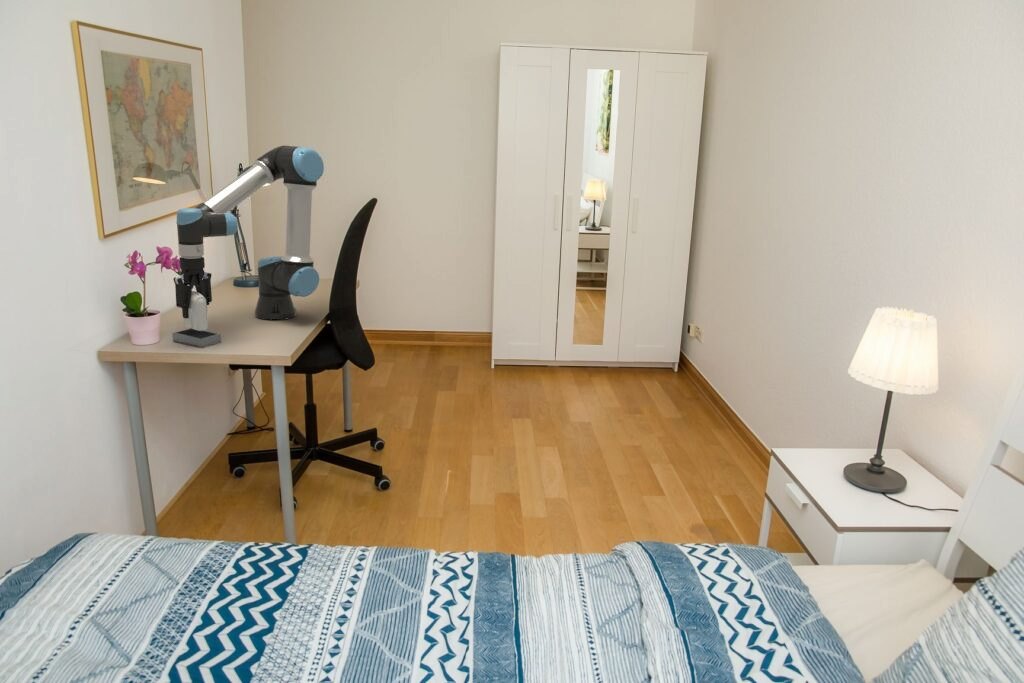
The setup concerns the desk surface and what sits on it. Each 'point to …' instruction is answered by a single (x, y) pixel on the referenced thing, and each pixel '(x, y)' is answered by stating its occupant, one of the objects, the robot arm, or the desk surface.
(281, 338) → the desk surface
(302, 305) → the desk surface
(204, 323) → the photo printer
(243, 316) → the desk surface
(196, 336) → the grey rectangular tray
